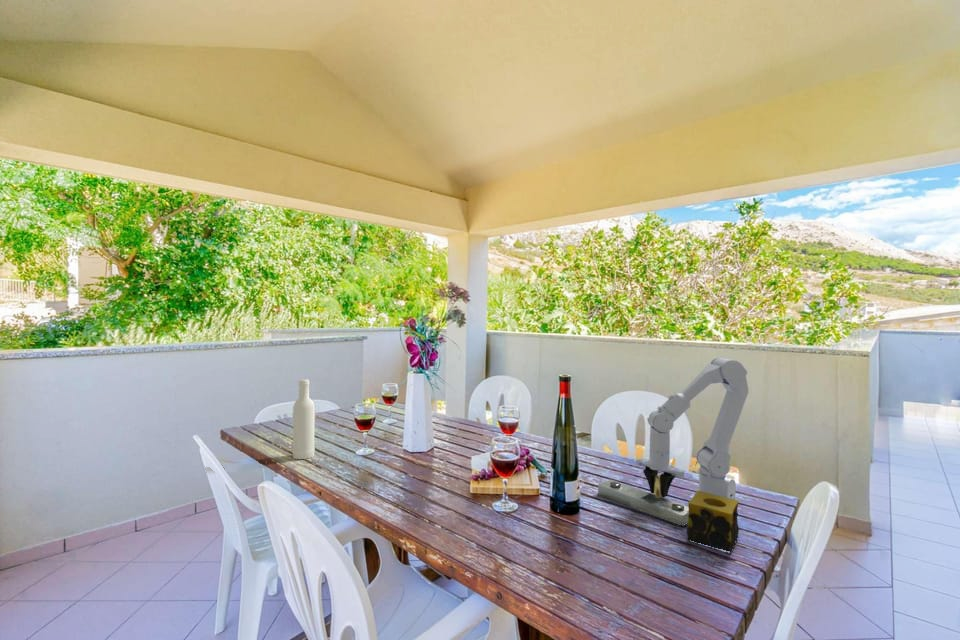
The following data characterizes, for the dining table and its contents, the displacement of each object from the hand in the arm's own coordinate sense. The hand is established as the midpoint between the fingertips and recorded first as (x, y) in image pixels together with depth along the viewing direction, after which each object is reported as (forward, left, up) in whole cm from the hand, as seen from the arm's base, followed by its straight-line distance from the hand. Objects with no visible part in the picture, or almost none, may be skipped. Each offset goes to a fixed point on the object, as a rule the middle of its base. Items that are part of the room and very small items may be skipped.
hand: (658, 494), depth 134 cm
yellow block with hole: (-21, +12, -2) cm, 24 cm away
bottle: (+106, +74, -2) cm, 129 cm away
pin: (0, 0, -2) cm, 2 cm away
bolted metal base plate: (0, +8, -2) cm, 8 cm away
